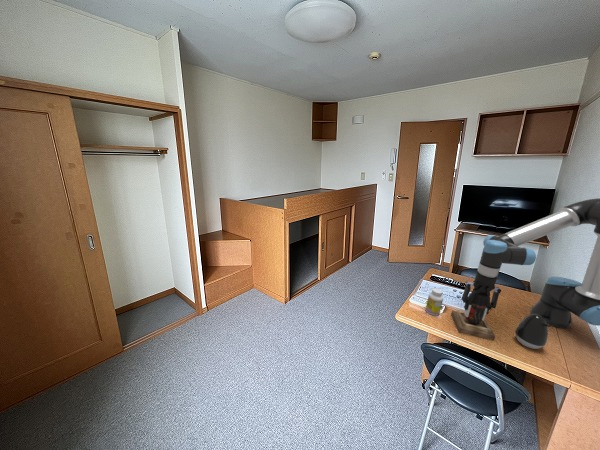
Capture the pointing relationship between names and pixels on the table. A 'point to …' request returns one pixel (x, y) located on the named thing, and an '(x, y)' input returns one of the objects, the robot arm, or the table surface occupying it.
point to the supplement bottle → (434, 302)
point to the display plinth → (472, 326)
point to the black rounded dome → (533, 331)
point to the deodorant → (477, 308)
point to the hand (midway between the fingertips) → (473, 316)
